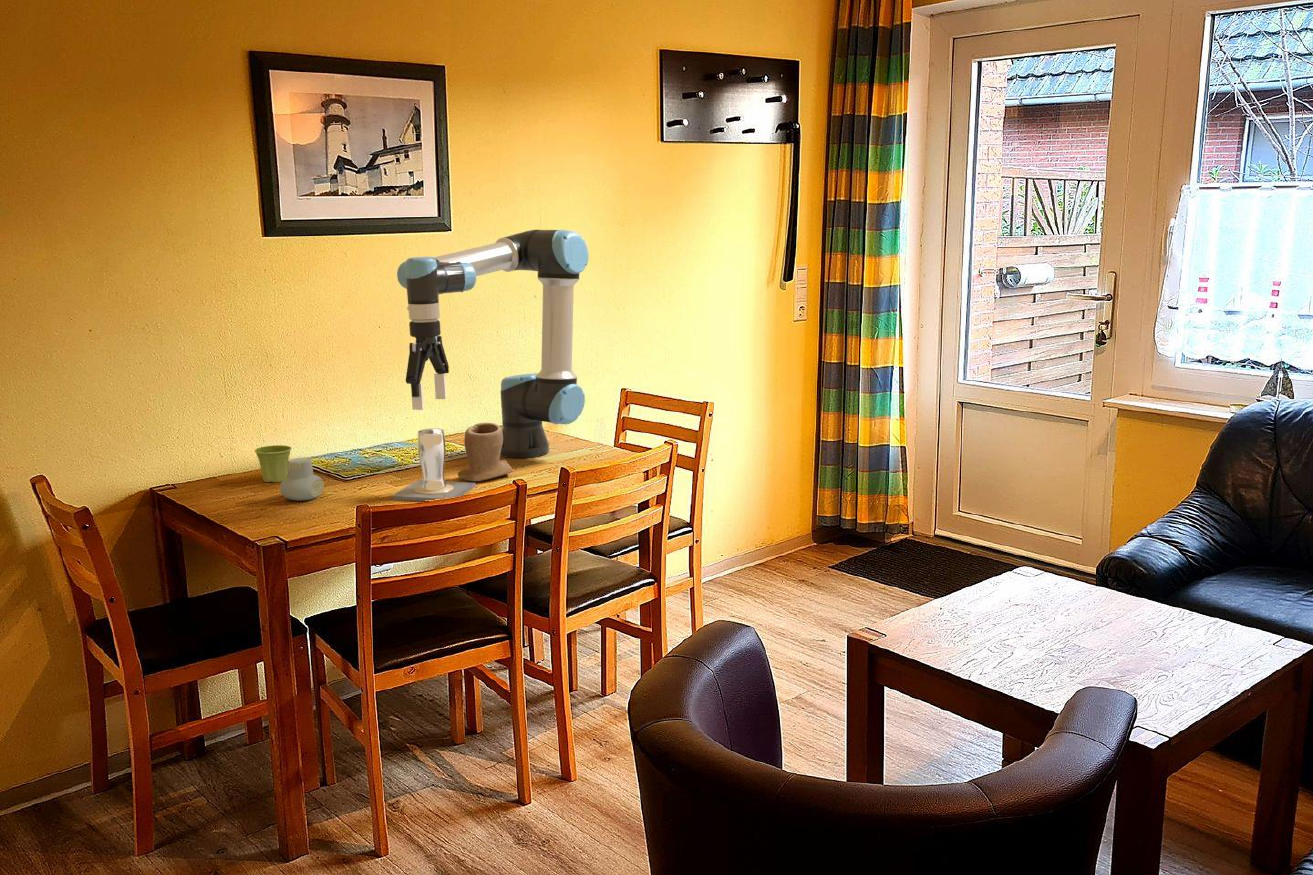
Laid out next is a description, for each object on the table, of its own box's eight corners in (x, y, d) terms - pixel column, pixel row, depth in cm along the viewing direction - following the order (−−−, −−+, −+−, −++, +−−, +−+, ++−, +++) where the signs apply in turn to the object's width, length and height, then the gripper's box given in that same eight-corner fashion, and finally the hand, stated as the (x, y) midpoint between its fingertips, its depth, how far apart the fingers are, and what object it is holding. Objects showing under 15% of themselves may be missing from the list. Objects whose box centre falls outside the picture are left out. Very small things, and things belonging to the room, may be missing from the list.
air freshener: (307, 504, 280) (304, 465, 278) (277, 503, 282) (273, 464, 279) (327, 493, 291) (324, 455, 288) (298, 492, 292) (295, 454, 290)
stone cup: (477, 487, 294) (474, 431, 291) (452, 479, 303) (449, 424, 300) (524, 477, 304) (522, 422, 301) (498, 469, 313) (496, 416, 310)
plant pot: (283, 474, 311) (281, 443, 309) (300, 479, 304) (297, 448, 302) (251, 480, 304) (248, 449, 302) (267, 486, 298) (264, 454, 296)
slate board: (419, 483, 299) (418, 479, 298) (475, 486, 295) (475, 482, 295) (391, 499, 284) (391, 495, 283) (450, 502, 280) (450, 498, 280)
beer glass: (441, 492, 285) (438, 434, 282) (416, 491, 287) (412, 433, 283) (451, 485, 292) (448, 428, 289) (426, 484, 293) (423, 427, 290)
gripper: (431, 314, 292) (436, 394, 297) (387, 326, 269) (393, 413, 273) (458, 314, 290) (463, 395, 295) (416, 327, 267) (422, 414, 272)
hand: (429, 404), depth 284 cm, fingers open, 13 cm apart
